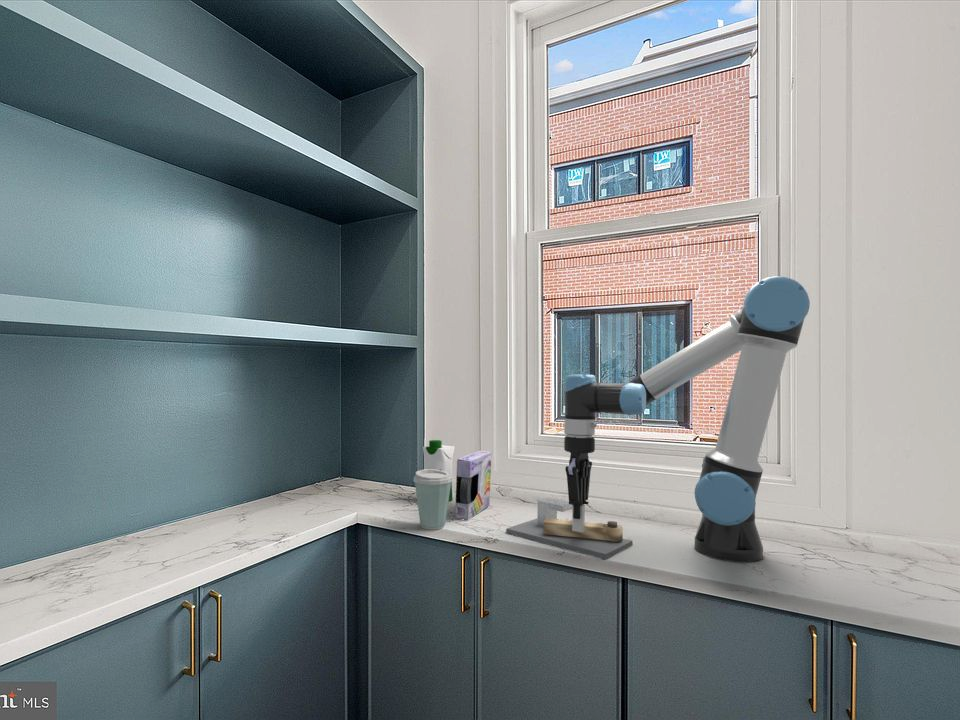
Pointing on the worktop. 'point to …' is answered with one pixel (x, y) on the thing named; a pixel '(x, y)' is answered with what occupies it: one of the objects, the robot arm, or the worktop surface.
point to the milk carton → (439, 458)
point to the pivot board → (570, 541)
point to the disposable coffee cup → (432, 497)
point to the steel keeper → (550, 509)
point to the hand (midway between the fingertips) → (578, 531)
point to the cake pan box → (472, 484)
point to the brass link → (590, 530)
